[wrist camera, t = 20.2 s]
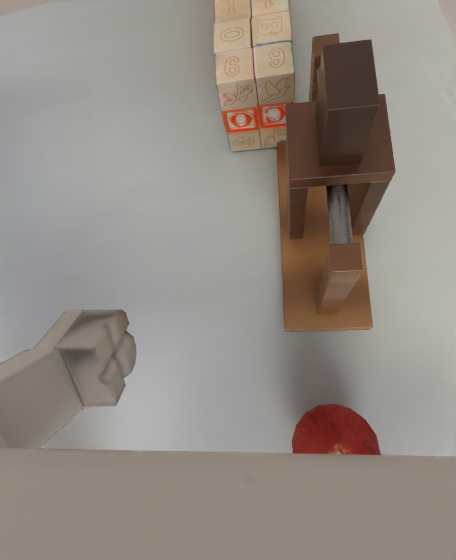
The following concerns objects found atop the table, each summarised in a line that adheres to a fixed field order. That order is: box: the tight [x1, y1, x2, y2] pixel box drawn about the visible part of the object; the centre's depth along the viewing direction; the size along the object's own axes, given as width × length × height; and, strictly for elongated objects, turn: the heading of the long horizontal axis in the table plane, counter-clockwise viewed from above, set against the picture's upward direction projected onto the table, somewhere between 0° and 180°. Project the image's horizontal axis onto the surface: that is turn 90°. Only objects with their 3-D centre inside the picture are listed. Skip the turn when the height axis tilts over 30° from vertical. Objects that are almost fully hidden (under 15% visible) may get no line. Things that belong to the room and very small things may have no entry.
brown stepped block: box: [285, 40, 395, 239], centre depth 24 cm, size 6×5×14 cm
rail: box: [277, 33, 373, 332], centre depth 29 cm, size 18×7×14 cm, turn 0°
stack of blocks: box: [214, 0, 295, 152], centre depth 35 cm, size 21×6×12 cm, turn 1°
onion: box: [292, 404, 380, 455], centre depth 26 cm, size 6×6×8 cm
